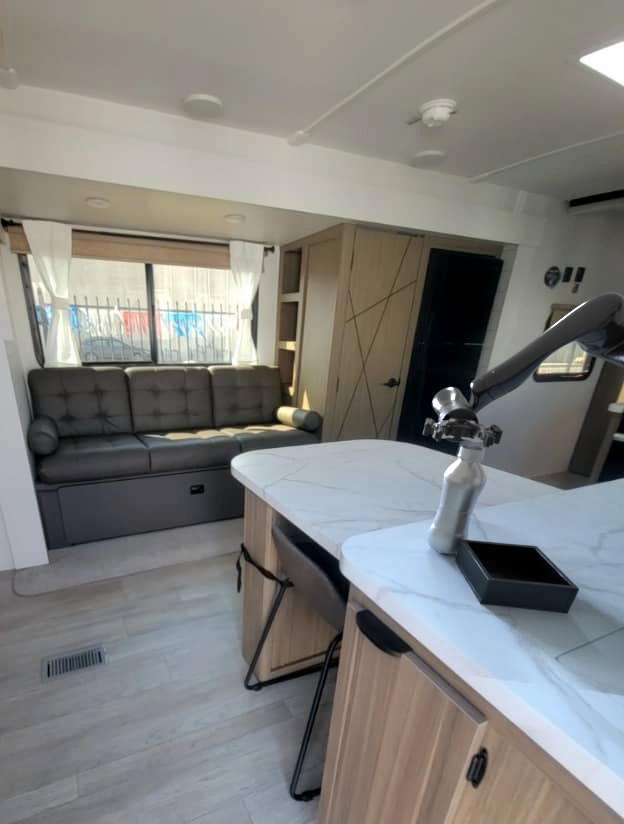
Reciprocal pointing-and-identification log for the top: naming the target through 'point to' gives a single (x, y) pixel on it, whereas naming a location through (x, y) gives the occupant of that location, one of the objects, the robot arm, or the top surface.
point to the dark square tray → (514, 576)
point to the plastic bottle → (458, 500)
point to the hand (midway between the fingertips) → (463, 439)
